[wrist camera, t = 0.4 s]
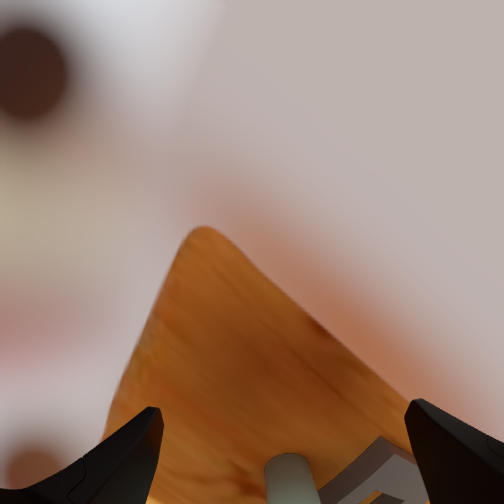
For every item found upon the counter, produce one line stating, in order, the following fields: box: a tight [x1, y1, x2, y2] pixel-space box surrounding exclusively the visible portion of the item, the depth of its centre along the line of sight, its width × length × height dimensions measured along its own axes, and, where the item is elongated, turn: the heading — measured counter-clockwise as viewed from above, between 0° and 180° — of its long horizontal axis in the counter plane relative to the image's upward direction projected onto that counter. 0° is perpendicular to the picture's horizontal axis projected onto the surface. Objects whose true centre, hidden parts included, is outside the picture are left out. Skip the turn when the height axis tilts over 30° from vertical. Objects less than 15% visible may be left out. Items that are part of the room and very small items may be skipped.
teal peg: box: [264, 453, 321, 504], centre depth 18 cm, size 5×5×12 cm
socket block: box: [317, 436, 429, 504], centre depth 22 cm, size 14×14×4 cm
